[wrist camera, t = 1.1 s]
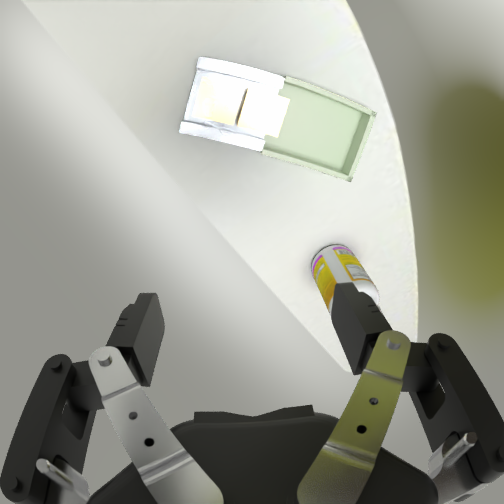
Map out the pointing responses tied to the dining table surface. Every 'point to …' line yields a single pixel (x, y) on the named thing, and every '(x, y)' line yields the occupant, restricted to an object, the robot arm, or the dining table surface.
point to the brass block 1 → (218, 100)
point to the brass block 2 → (262, 111)
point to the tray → (320, 130)
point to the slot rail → (249, 80)
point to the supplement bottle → (340, 273)
